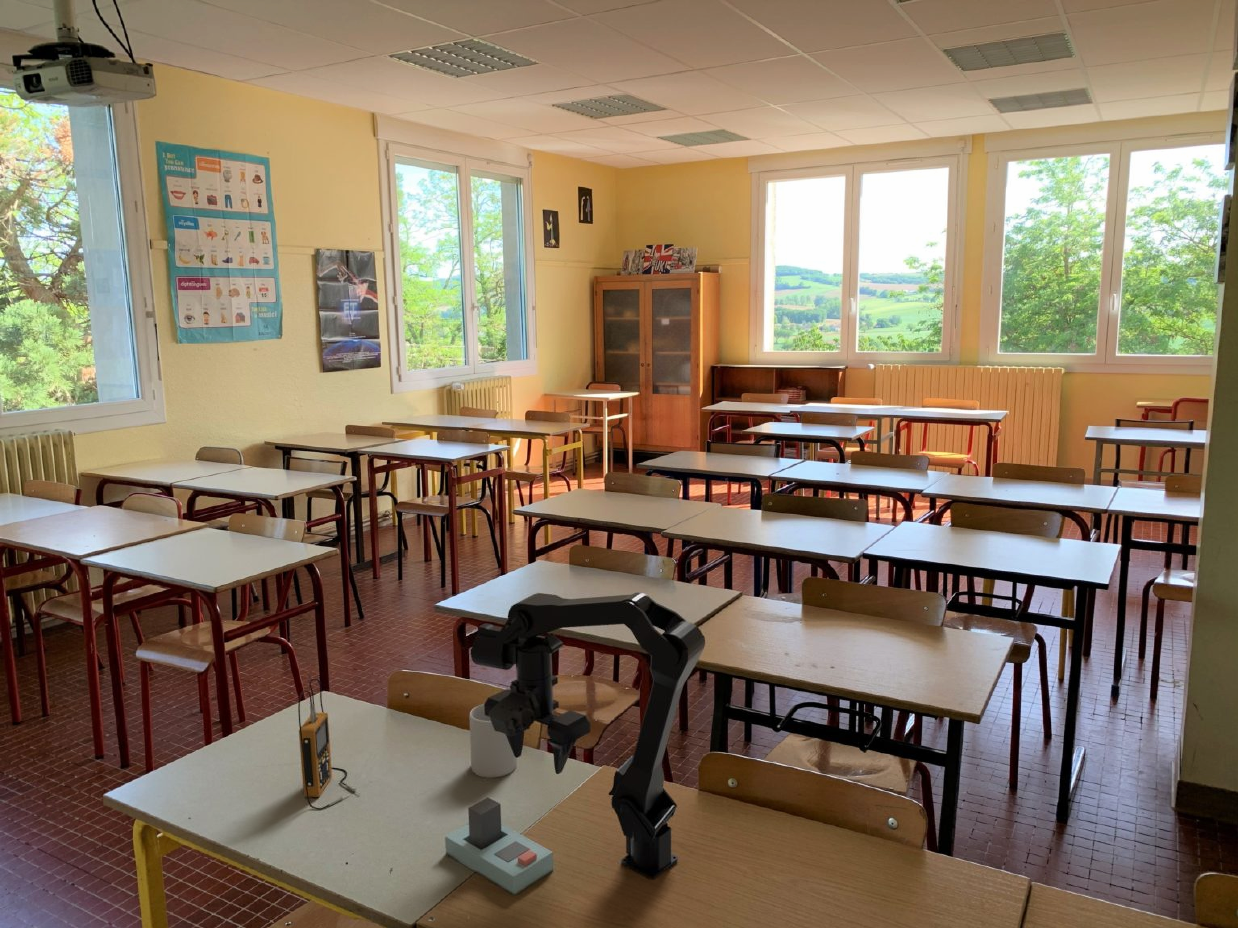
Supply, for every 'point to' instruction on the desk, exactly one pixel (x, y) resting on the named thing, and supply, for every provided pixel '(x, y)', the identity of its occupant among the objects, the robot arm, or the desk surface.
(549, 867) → the power strip
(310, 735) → the multimeter
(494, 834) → the plug
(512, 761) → the mug
